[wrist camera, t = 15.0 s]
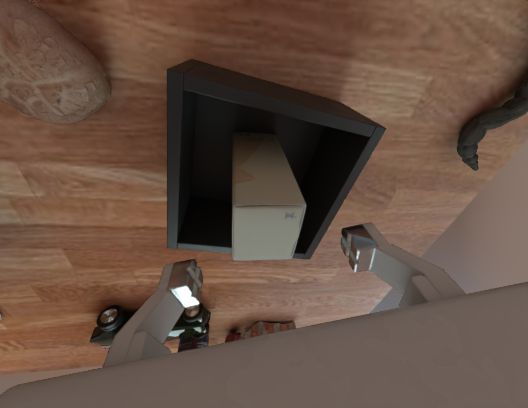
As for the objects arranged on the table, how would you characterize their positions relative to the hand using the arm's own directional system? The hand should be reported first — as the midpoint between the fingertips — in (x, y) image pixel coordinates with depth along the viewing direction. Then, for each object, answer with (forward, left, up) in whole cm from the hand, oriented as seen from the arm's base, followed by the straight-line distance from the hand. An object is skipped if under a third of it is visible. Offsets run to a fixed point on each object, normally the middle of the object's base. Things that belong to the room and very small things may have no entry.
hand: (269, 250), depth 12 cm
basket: (0, 0, -13) cm, 13 cm away
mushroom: (-20, +6, -13) cm, 24 cm away
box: (0, 0, -13) cm, 13 cm away
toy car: (-10, -35, -14) cm, 39 cm away
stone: (+12, -38, -14) cm, 42 cm away
